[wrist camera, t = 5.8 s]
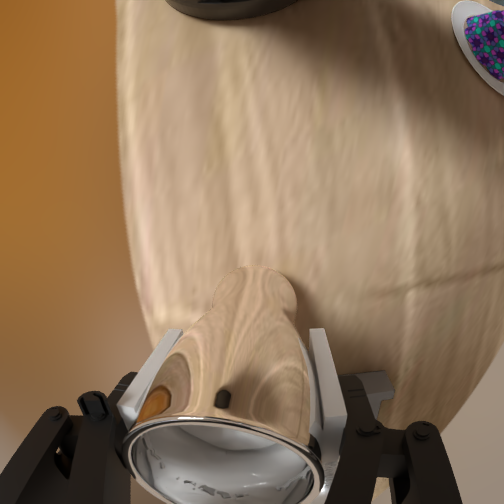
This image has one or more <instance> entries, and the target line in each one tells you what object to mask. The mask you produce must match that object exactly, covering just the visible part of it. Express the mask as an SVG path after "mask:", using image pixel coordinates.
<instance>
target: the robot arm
mask: <svg viewBox="0 0 504 504" xmlns="http://www.w3.org/2000/svg"><path fill="white" fill-rule="evenodd" d="M165 1H166V2H167V3H168V4H169V5H171V6H172V7H173V8H175V9H176V10H178V11H180V12H183V13H185V14H188V15H191V16H195V17H199V18H205V19H214V20H234V19H244V18H251V17H256V16H261V15H264V14H268V13H271V12H274V11H277V10H279V9H282V8H284V7H286V6H288V5H290V4H292V3H294V2H295V1H297V0H165ZM490 1H492V2H494V3H496V4H499V5H502V6H504V0H490ZM182 335H183V331H182V329H169V330H168V331H167V333H166V334H165V335H164V337H163V338H162V340H161V341H160V342H159V344H158V345H157V347H156V348H155V350H154V351H153V352H152V354H151V355H150V357H149V358H148V360H147V361H146V363H145V364H144V365H143V367H142V368H141V370H140V371H139V372H138V373H137V372H130V373H128V374H127V375H125V376H124V377H123V378H122V379H121V380H120V382H119V383H118V385H117V386H116V387H115V389H114V390H113V391H112V393H111V394H110V395H109V396H108V398H107V397H106V396H105V394H104V393H101V392H100V391H90V392H87V393H84V394H82V395H81V396H80V397H79V398H78V400H77V402H78V404H79V406H80V409H81V411H82V413H83V416H75V415H74V416H73V415H69V413H68V411H67V410H66V409H65V408H64V407H61V406H56V407H51V408H49V409H47V410H46V411H45V412H44V413H43V414H42V416H41V417H40V419H39V420H38V421H37V423H36V424H35V425H34V427H33V428H32V430H31V431H30V432H29V434H28V435H27V437H26V438H25V439H24V441H23V442H22V443H21V445H20V446H19V448H18V449H17V451H16V452H15V454H14V455H13V456H12V458H11V460H10V461H9V462H8V464H7V465H6V467H5V468H4V470H3V472H2V473H1V474H0V504H130V476H131V475H130V472H129V471H128V469H127V467H126V465H125V463H124V461H123V457H122V451H121V447H122V442H123V439H124V437H125V435H126V434H127V432H128V431H129V429H130V427H131V424H132V422H133V420H134V418H135V415H136V413H137V410H138V408H139V406H140V403H141V401H142V399H143V397H144V395H145V393H146V390H147V388H148V386H149V384H150V382H151V380H152V379H153V377H154V375H155V373H156V371H157V370H158V368H159V366H160V364H161V363H162V361H163V360H164V358H165V357H166V355H167V354H168V352H169V351H170V350H171V348H172V347H173V345H174V344H175V343H176V342H177V340H178V339H179V338H180V337H181V336H182ZM309 355H310V358H311V361H312V363H313V366H314V369H315V372H316V377H317V382H318V387H319V395H320V402H321V411H322V423H323V462H333V461H338V457H339V456H340V459H339V462H338V466H337V469H336V472H335V475H334V478H333V481H332V484H331V486H330V489H329V492H328V495H327V498H326V500H325V503H324V504H371V501H372V497H373V493H374V488H375V483H376V478H377V477H385V478H389V485H390V492H391V500H392V504H462V500H461V497H460V493H459V490H458V486H457V483H456V480H455V477H454V474H453V471H452V467H451V464H450V461H449V458H448V456H447V453H446V450H445V447H444V444H443V442H442V439H441V436H440V433H439V431H438V429H437V428H436V426H435V425H433V424H432V423H429V422H426V421H417V422H414V423H412V424H410V425H409V426H408V427H407V429H406V430H395V429H388V428H386V427H384V426H383V425H382V424H381V422H379V421H378V420H376V419H375V417H374V414H373V411H372V408H371V405H370V403H369V400H368V397H367V394H366V391H365V389H364V386H363V383H362V381H361V380H360V379H359V378H358V377H357V376H356V375H347V376H337V373H336V369H335V365H334V362H333V358H332V354H331V351H330V347H329V344H328V340H327V336H326V333H325V329H324V328H316V329H310V331H309ZM58 447H59V448H60V451H59V452H58V453H56V451H57V449H58Z"/></svg>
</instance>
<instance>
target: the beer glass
mask: <svg viewBox="0 0 504 504" xmlns="http://www.w3.org/2000/svg"><path fill="white" fill-rule="evenodd" d="M296 314H297V298H296V294H295V291H294V289H293V287H292V286H291V284H290V283H289V281H288V280H287V279H286V278H285V277H284V276H283V275H281V274H280V273H279V272H277V271H275V270H273V269H271V268H268V267H264V266H259V265H250V266H244V267H240V268H237V269H235V270H233V271H232V272H230V273H228V274H227V275H226V276H225V277H224V278H223V279H222V280H221V281H220V282H219V284H218V286H217V287H216V290H215V292H214V296H213V301H212V309H210V310H209V311H208V312H207V313H206V314H205V315H203V316H202V317H201V318H200V319H199V320H198V321H196V322H195V323H194V324H193V325H192V326H191V327H190V328H189V329H188V330H187V331H186V332H185V333H184V334H183V335H182V336H181V337H180V338H179V339H178V340H177V342H176V343H175V344H174V345H173V347H172V348H171V350H170V351H169V352H168V354H167V355H166V357H165V358H164V360H163V361H162V363H161V364H160V366H159V368H158V370H157V371H156V373H155V375H154V377H153V379H152V380H151V382H150V384H149V386H148V388H147V390H146V393H145V395H144V397H143V399H142V401H141V403H140V406H139V408H138V410H137V413H136V415H135V418H134V420H133V422H132V424H131V427H130V429H129V431H128V432H127V434H126V435H125V437H124V439H123V442H122V447H121V451H122V457H123V461H124V463H125V465H126V467H127V469H128V471H129V472H130V474H131V475H132V476H133V477H134V479H135V480H136V481H137V482H138V483H139V484H140V485H141V486H142V487H143V488H145V489H146V490H147V491H148V492H150V493H151V494H153V495H154V496H155V497H157V498H159V499H160V500H162V501H164V502H166V503H167V504H310V503H311V502H312V501H313V500H315V498H316V497H317V496H318V495H319V494H320V492H321V490H322V488H323V486H324V482H325V473H324V468H323V423H322V411H321V402H320V395H319V387H318V382H317V377H316V372H315V369H314V366H313V363H312V361H311V358H310V355H309V353H308V350H307V348H306V346H305V344H304V342H303V340H302V338H301V336H300V334H299V332H298V330H297V329H296V327H295V325H294V321H295V318H296Z"/></svg>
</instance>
